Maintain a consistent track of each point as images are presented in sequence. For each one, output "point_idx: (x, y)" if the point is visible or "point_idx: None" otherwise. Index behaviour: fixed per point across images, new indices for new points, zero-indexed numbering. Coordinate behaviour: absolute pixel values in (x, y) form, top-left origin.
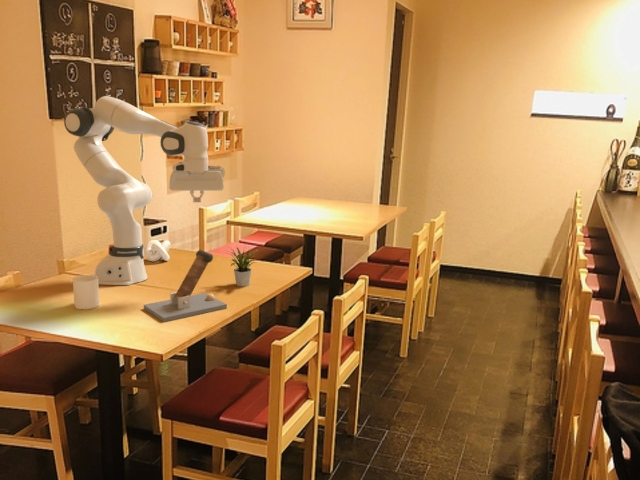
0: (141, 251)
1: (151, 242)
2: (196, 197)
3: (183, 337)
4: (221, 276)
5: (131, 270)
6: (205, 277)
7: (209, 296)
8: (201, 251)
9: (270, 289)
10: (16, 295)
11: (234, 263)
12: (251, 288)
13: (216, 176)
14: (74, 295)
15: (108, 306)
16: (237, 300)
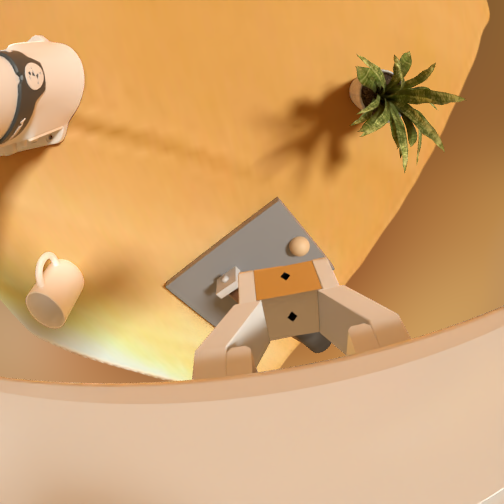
0: (31, 96)
1: None
2: (284, 315)
3: (271, 366)
4: (295, 13)
5: (47, 130)
6: (247, 24)
7: (298, 256)
8: (300, 335)
9: (426, 137)
10: None
11: (373, 119)
12: (387, 127)
13: None
14: (49, 302)
15: (98, 274)
16: (354, 217)
